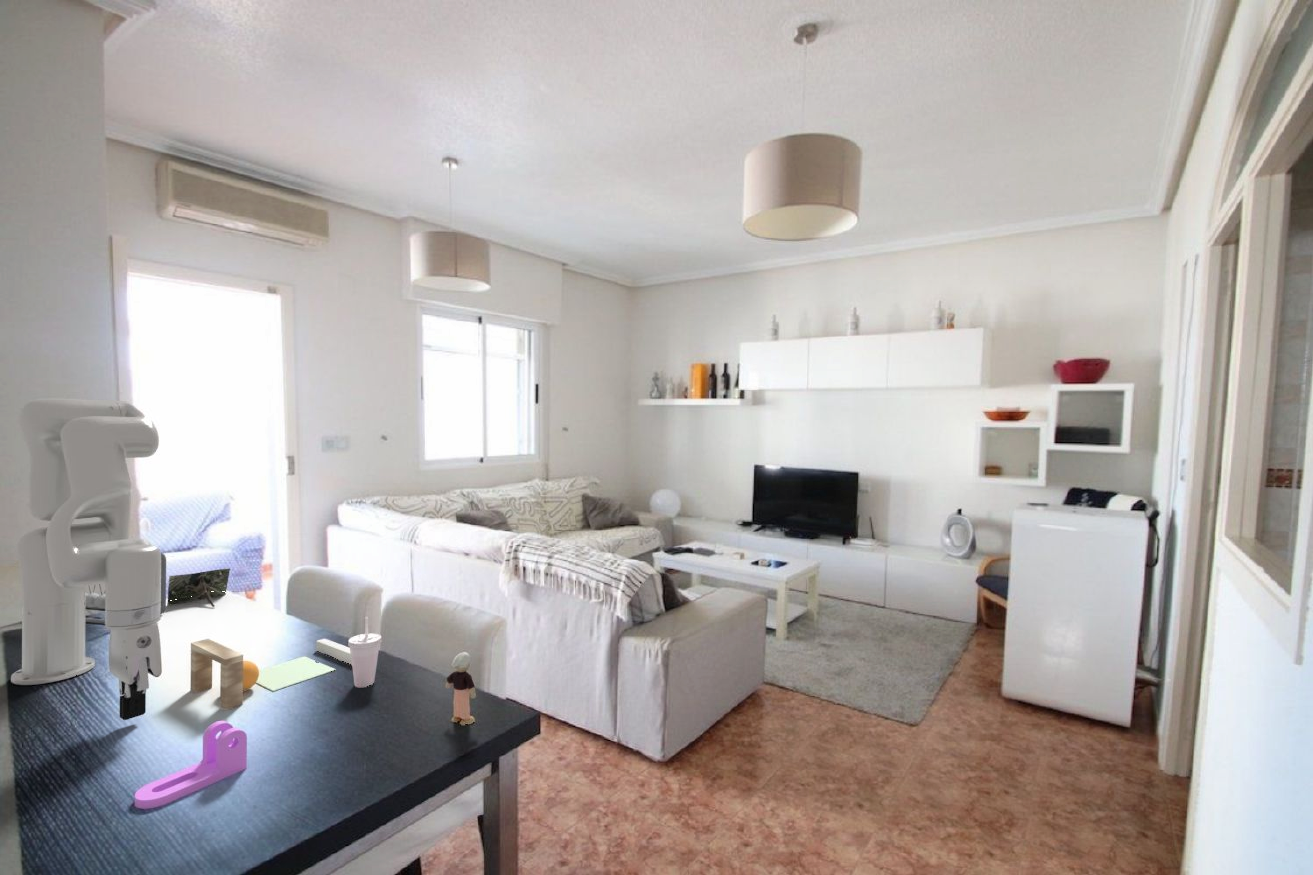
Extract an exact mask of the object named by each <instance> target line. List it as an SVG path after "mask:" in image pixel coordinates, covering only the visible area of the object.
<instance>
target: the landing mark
mask: <svg viewBox="0 0 1313 875" xmlns="http://www.w3.org/2000/svg"><path fill="white" fill-rule="evenodd" d="M315 661H316V660H315V659H312V658H310V657H307V656H305V655H304V656H301V657H297V658H295V659H291V660H288V661H285V662H281V663H278V664H276V665H275V664H274V665H272V666H269V667H266V668H262V669H259V677H258V680H257V681H256V683H255V684H257V685H259V686H260V687H263V688H265V689H268V690H269V691H271V692H276V691H279V690H281V689H285V688H287V687H291V686H293V685H296V684H299V683H302V682H305V681H309V680H311V679H314V678H318V677H319V676H323V675H325V674H328V673H332V672H335V671H337V669H336V668H335V667H331V666H329V665H327V664H324V663H323V662H319V663H316V662H315ZM334 670H335V671H334ZM331 671H332V672H331Z"/></svg>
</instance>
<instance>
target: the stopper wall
mask: <svg viewBox="0 0 1313 875" xmlns="http://www.w3.org/2000/svg"><path fill="white" fill-rule="evenodd" d="M316 650H317V651H319V652H322V653H326V654H328V655H330V656H332V657H334V658H333V659H335V658H336V659H335V660H337V659H338V661H340V662H342V661H344V662H343V663H345V662H346V663H345V664H347V663H349V664H348V665H350V664H351V665H350V666H352V660H351V652H350V647H349V646H346V645H344V644H341V643H337V642H335V641H332V640H331V639H328V638H321V639H318V640H316V641H315V651H316ZM317 651H316V652H317ZM319 652H318V653H319ZM322 653H321V654H322ZM330 656H329V657H330ZM332 657H331V658H332Z"/></svg>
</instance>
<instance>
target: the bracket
mask: <svg viewBox="0 0 1313 875" xmlns="http://www.w3.org/2000/svg"><path fill="white" fill-rule="evenodd" d="M219 733H220V734H219ZM218 734H219V735H218ZM217 735H218V736H217ZM247 748H248V736H247V733H246V732H245V731H244V730H242V729H240V728H238V727H233V724H231V723H229V722H228V721H225V720H219V721H218V720H217V721H215V722H213V723H211V724H210V725H209V726H208V727H207V728H206V729H205V731H204V733H203V735H202V760H201V761H200V762H198V763H195V764H193V765H191V766H187V767H185V768H183V769H181V770H179V771H176V772H174V773H171V774H169V775H166V776H164V777H162V778H158V779H157V780H155V781H151V782H149V783H147V784H145V785H143V786H142V787H140V788H139V789H138V790H136V792H135V794H134V806H135V807H136V808H138V809H142V810H143V809H146V810H147V809H154V808H157V807H161V806H165V805H167V804H169V803H172V802H174V801H176V800H179V799H181V798H183V797H185V796H187V795H190V794H192V793H194V792H196V791H199V790H201V789H204V788H206V787H208V786H210V785H213V784H214V783H217V782H220V781H221V780H223V779H227V778H229V777H231V776H233V775H235V774H238V773H240V772H242V771H245V770H247V767H248V766H247V764H248V763H247V761H248V759H247V757H248V756H247V754H248V751H247V750H248V749H247Z"/></svg>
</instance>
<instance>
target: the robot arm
mask: <svg viewBox="0 0 1313 875" xmlns="http://www.w3.org/2000/svg"><path fill="white" fill-rule="evenodd" d="M18 425H19V426H18V427H19V430H20V433H21V436H22V438H23V440H24V442H25V445H26V447H27V449H28V454H29V456H30V464H29V481H28V482H29V483H28V484H29V487H28V507H29V508H28V509H29V512H30V515H32V517H33V518H35V519H36V520H39V521H46V522H48V521H49V522H48V526H44V527H37V528H35V529H31V530H28V531H27V532H25V533H24V534H22V535H20V537H19V538H18V539H17V542H16V544H15V552H16V558H17V563H18V567H19V573H20V578H21V579H20V581H21V594H22V595H21V597H22V599H21V601H22V602H21V605H22V606H21V608H22V609H21V612H22V613H21V614H22V615H21V617H22V618H21V619H22V621H21V622H22V623H21V624H22V625H21V627H22V628H21V668H20V669H18V670H16V671H15V672H13V673H12V674H11V675H10V676H11V677H10V682H11V683H12V684H14V685H19V686H32V685H33V686H34V685H35V686H36V685H44V684H48V683H49V684H50V683H54V682H59V681H63V680H68V679H71V678H73V677H74V678H75V677H77V676H79V675H83V674H85V673H87V672H88V671H90V670H92V669H93V668H94V667H95V664H96V660H95V659H94V658H92V657H90V656H89V657H87V656H86V622H85V617H86V613H87V612H86V609H87V608H86V593H87V592H86V588H85V587H86V586H87V587H90V586H96V585H99V584H100V585H101V584H104V586H105V587H104V592H105V610H104V619H105V624H104V628H105V629H106V630H110V632H109V643H108V644H109V645H108V667H109V673H110V674H111V675H112V676H113V677H115V678H116V679H118V687H119V690H118V691H119V718H120V719H122V720H123V721H127V720H131V719H134V718H137V717H140V716H143V715H145V714H146V711H147V710H146V704H147V702H146V701H147V696H146V694H147V690H148V689H149V688H150V684H149V675H150V676H152V677H155V678H159V677H160V676H161V675H162V672H163V671H162V669H163V668H162V666H163V665H162V650H161V649H162V646H161V637H160V636H161V635H160V634H161V633H160V629H159V624H158V622H159V621H160V620H161V619H162V618H161V615H162V614H161V552H162V551H161V549H160V548H159V546H156V545H154V544H152V543H151V542H150V541H149V540H148V539H145V538H140V537H139V538H138V537H137V538H130V526H131V525H130V524H131V506H132V505H131V504H132V494H131V489H132V482H131V478H130V473H129V469H128V466H127V465H128V464H127V460H126V459H128V458H129V459H131V458H132V459H133V458H134V459H135V458H136V459H137V458H138V459H139V458H149V457H151V456H154V455H155V453H156V452H157V450H158V449H159V448H158V447H159V443H160V440H159V439H160V438H159V432H158V430H157V427H156V426H155V424H154V422H153V421H152V419H151V418H150V417H149V416H148V415H147V414H145V413H144V412H143V411H141V409H139V408H138V407H137V406H136V405H134V404H132V403H130V402H127V401H121V400H107V399H106V400H104V399H101V400H100V399H84V398H81V399H80V398H62V397H61V398H57V397H55V398H54V397H53V398H52V397H50V398H48V397H47V398H38V399H37V398H36V399H33V400H29V401H27V402H24V404H23V405H22V406H21V408H20V410H19V412H18ZM93 518H94V519H95V518H99V521H94V522H93V521H92V522H83V523H74V521H75V520H80V519H93ZM95 584H96V585H95ZM76 675H77V676H76Z"/></svg>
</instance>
